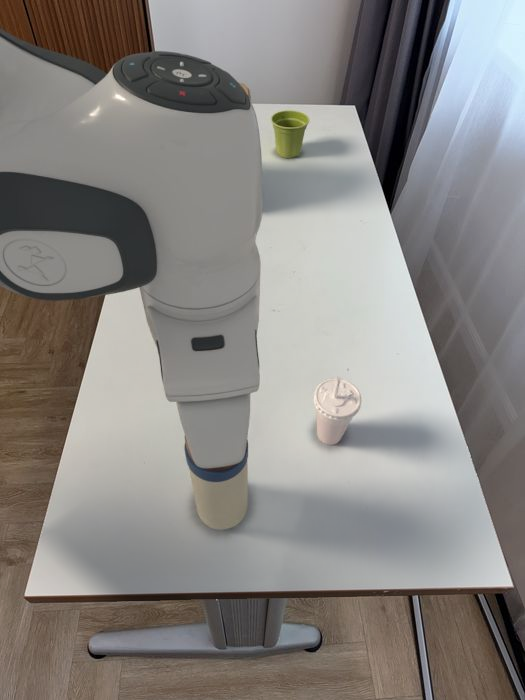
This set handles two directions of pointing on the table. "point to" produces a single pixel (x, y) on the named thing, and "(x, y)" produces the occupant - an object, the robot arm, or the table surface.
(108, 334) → the table surface
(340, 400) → the smoothie
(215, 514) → the bottle
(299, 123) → the plant pot
